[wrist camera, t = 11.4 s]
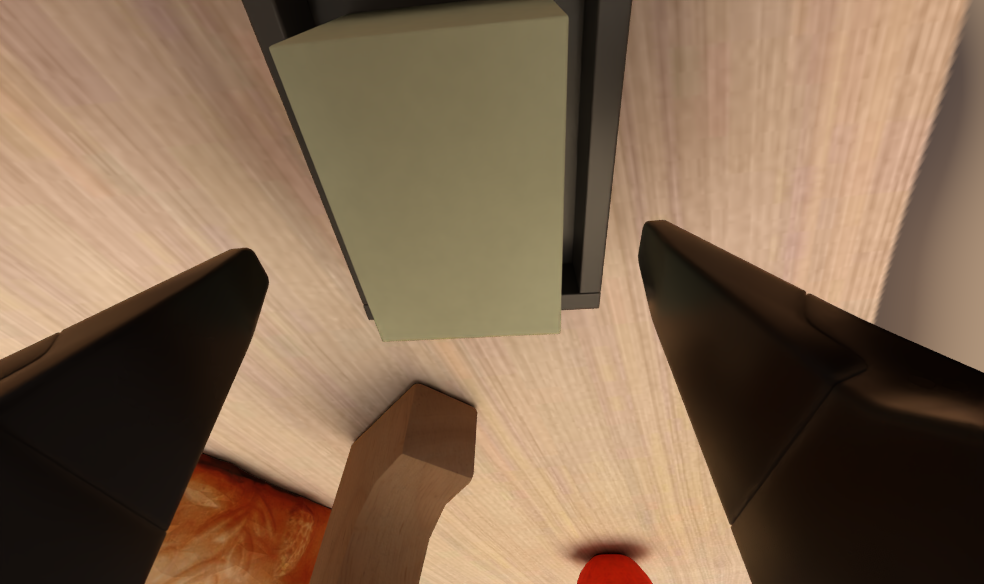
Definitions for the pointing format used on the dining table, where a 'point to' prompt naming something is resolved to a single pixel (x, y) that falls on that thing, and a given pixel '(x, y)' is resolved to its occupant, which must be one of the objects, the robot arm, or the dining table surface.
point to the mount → (589, 119)
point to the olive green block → (442, 159)
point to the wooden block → (397, 490)
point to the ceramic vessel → (239, 531)
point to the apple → (612, 571)
